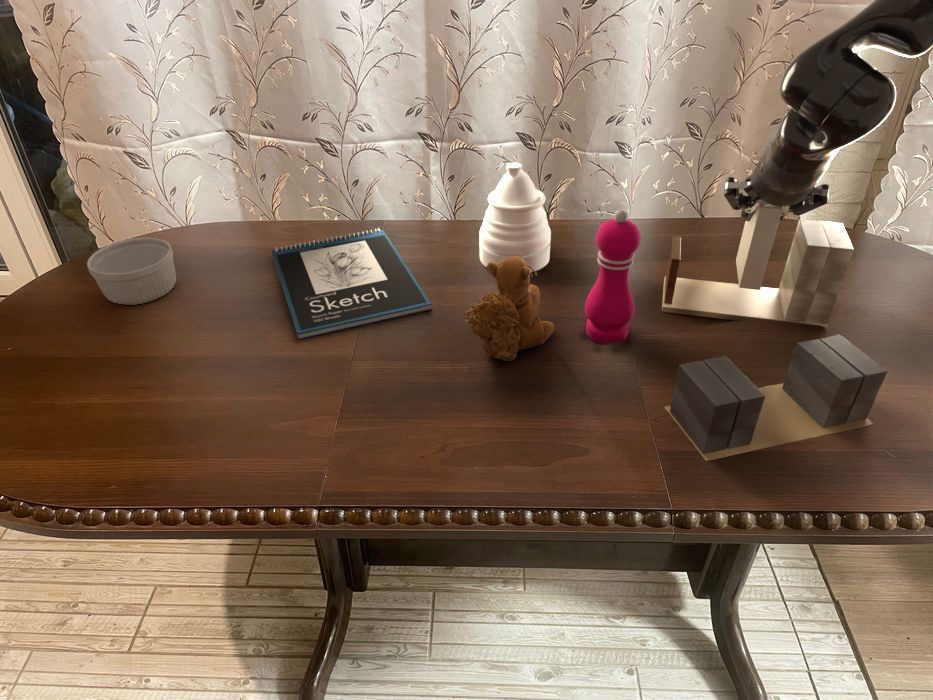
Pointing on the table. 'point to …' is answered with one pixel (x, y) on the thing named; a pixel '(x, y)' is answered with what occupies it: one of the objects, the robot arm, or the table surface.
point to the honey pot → (515, 222)
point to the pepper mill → (612, 281)
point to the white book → (757, 246)
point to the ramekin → (134, 270)
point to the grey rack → (775, 399)
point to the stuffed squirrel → (509, 312)
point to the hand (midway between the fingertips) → (760, 216)
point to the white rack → (797, 300)
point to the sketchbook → (346, 283)
